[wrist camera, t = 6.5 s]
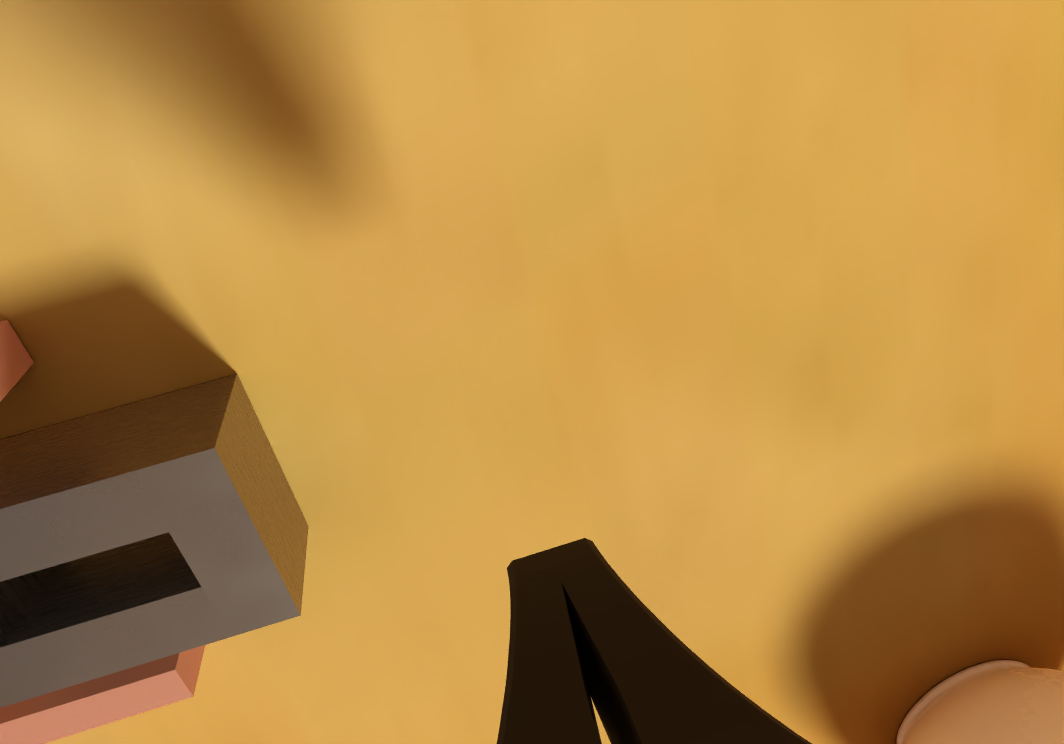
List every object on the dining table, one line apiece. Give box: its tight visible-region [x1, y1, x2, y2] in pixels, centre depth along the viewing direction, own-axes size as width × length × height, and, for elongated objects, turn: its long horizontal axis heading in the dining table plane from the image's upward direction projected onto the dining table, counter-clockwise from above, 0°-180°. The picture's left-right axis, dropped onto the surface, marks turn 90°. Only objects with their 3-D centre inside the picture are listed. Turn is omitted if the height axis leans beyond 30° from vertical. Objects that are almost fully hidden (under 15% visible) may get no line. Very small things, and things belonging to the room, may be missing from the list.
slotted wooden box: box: [0, 374, 308, 708], centre depth 16 cm, size 7×4×3 cm, turn 102°
